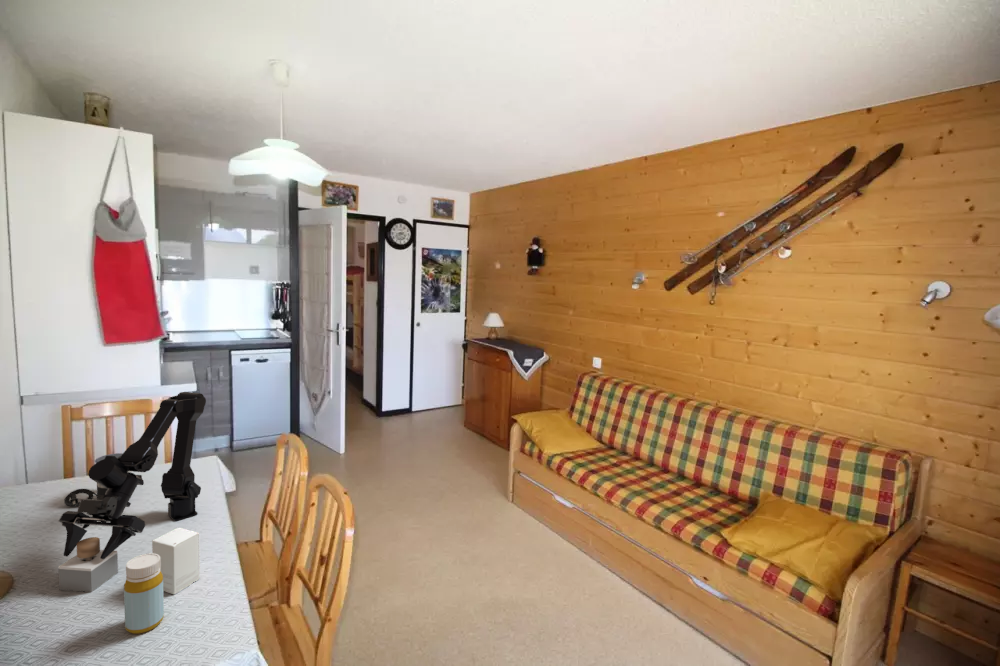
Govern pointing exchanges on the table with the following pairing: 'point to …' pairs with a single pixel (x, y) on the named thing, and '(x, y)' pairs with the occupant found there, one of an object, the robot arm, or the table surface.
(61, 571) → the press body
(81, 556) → the plunger
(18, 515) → the table surface
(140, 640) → the table surface
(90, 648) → the table surface
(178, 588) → the supplement box
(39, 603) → the table surface
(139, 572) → the bottle
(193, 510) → the robot arm
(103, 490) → the milk frother
